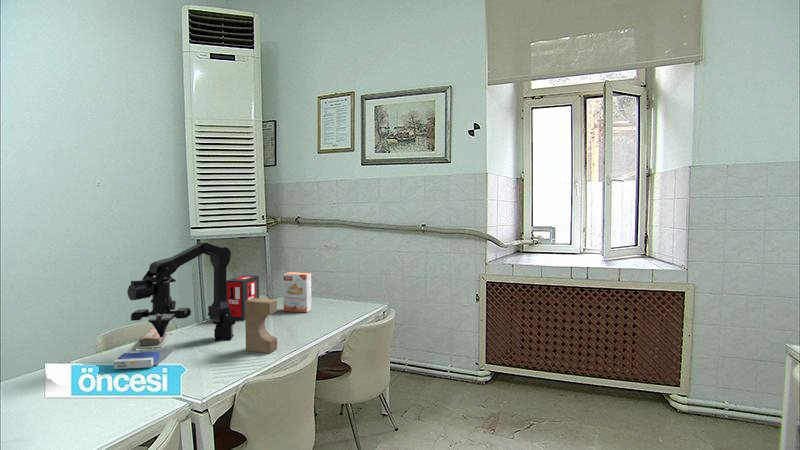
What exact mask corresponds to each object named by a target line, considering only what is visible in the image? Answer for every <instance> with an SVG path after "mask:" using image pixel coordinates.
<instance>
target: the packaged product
mask: <svg viewBox="0 0 800 450" xmlns="http://www.w3.org/2000/svg"><path fill="white" fill-rule="evenodd" d="M167 328H168V327H167ZM167 328H166V331H165V334H164V336H163V337H160V336H159V334H158V332H157V330H156V329H155V327H150V329H149V330H148V331H147V332H146V333H145V334H144V335H143V336H141V338H140V339H139V341H138V343H137V344H135V345H134V347H132V349H133V351H134V350H136V349H149V350H153V349H152V348H159V349H162V348H163V347H164V346H165V344H166V343H167V341H168V340H169V339H170V337H171V336H172V333H167V332H168V331H167V330H168V329H167ZM168 338H169V339H168ZM165 342H166V343H165ZM162 346H163V347H162ZM161 347H162V348H161Z"/></svg>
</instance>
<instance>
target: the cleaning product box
mask: <svg viewBox="0 0 800 450" xmlns="http://www.w3.org/2000/svg"><path fill="white" fill-rule="evenodd" d="M252 298H259V299H260V276H259V275H248V274H247V275H239V276H237V277H234V278H231V279H226V301H227V303H228V305H229V307H230V313H231V315H232V316H233V317H234V318H235V319H236V322H244V321H245V301H247V300H249V299H252Z"/></svg>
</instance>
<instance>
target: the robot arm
mask: <svg viewBox="0 0 800 450" xmlns="http://www.w3.org/2000/svg"><path fill="white" fill-rule="evenodd" d="M203 254H204V255H207V256H209V260H210V263H211V265H212V267H213V302H212V304H210V305H208V307H207V311H208V312H207V316H208V317H209V319H210V320H211V321H212V324H213V325H215V328H214V331H213V332H214V341H215V342H216V341H217V342H218V341H231V340H232V339H233V338H234V335H235V334H234V332H233V331H234V329H233V327H234V325H236V322H237V321H236V319H235V318H234V317H233V316H232V315H231V313H230V307H229V305H228V303H227V301H226V281H227V268H228V266H229V264H230V261H231V256H232V251H231V250H230V249H229V248H228V247H226V246H217V245H215V244H214V245H213V244H211V243H208V242H206V241H205V242H204V241H199V242H197V243H196V244H195V245H192V246H190V247H189V248H187V249H185V250H182V251H181V252H179V253H177V254H175V255H173V256H171V257H168V258H167V257H166V258H162V259H159V260H155V261H153V262H151V263H150V265H149V267H148V270H147V271H146V273H145V274H144V276H143V277H142V279H141V280H131V281H130V284H129V285H128V288H127V290H126V292H127V297H128V299H129V300H130V301H138V300H142V299H149V298H152V299H150V303H151V304H152V310H149V309H148V308H147V309H145V308H144V309H136V310H135V311H133V312H132V313H131V314H130V321H131V322H132V321H141V320H142V319H143V318H148V321H147V322H148V323H150V324H151V325H152V326H153V328H155V329H156V330H157V332H158V334H159V336H160V337H163V336H164V334H165V331H166V328H168V326H169V323H170V322H171V321H172V320H173V319H177V320H178V319H181V320H182V319H187V318H188V317H189V316H191V315H192V311H191V308H190V307H179V308H177V309H176V303H177V301H175V300H173V299H172V296H171V283H174V282H175V283H176V281H177V280H176V279H175V278H174V277H173V276H172V275H173V274H174V273H176V272H177V270H178V269H179V268H180V267H181V266H183V265H185V264H186V263H189V262H191V261H192V260H194V259H195V258H198V257H199V256H201V255H203ZM166 332H167V331H166Z"/></svg>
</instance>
